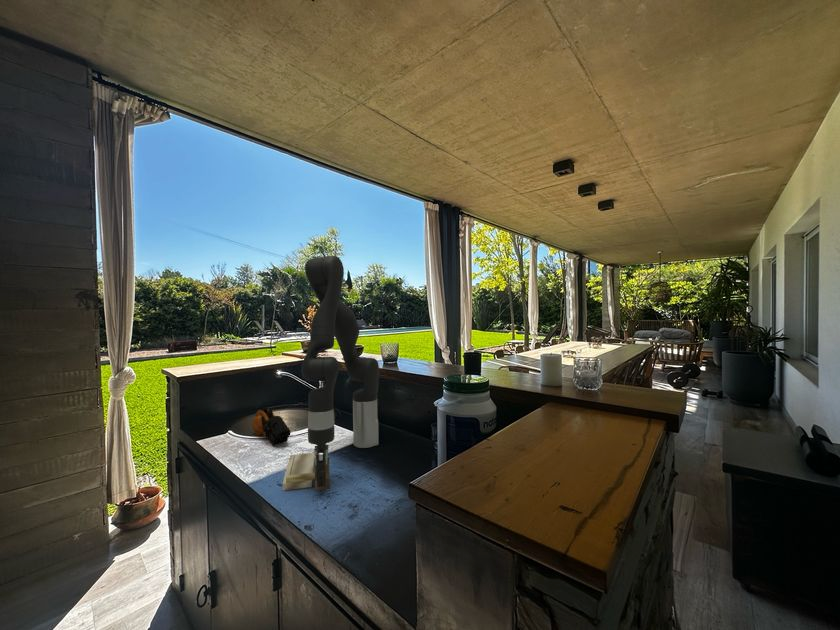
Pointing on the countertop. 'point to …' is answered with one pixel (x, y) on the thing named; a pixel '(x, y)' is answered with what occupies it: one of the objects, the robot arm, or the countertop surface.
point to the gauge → (311, 477)
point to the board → (299, 470)
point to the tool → (270, 426)
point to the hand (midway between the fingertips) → (321, 479)
